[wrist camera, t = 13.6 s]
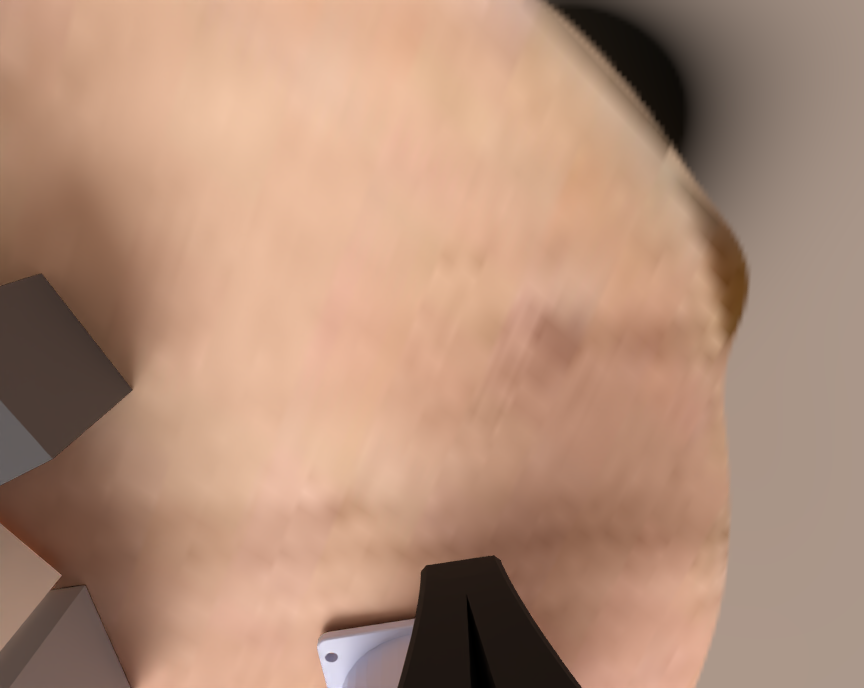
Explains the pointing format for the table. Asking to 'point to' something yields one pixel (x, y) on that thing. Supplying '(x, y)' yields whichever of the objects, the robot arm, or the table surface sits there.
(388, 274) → the table surface
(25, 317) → the dark grey block
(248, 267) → the table surface
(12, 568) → the door
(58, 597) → the wall frame
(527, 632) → the robot arm
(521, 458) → the table surface
